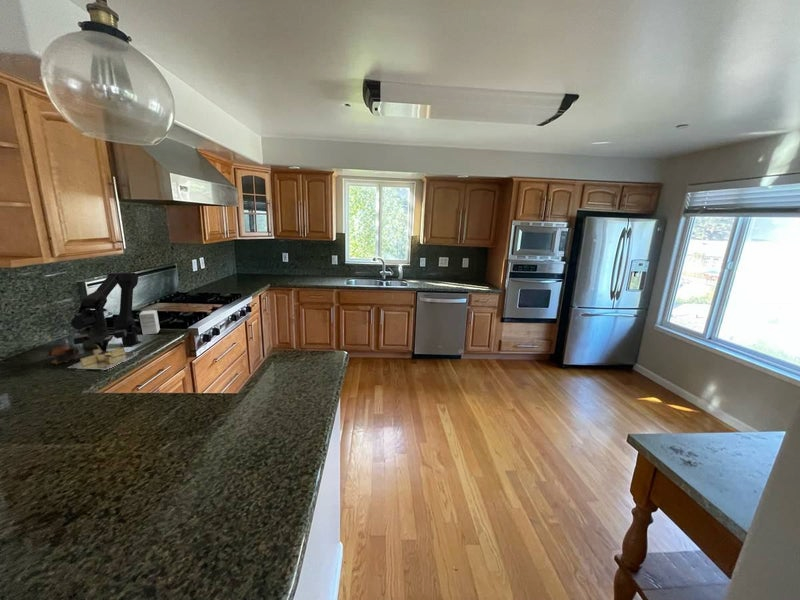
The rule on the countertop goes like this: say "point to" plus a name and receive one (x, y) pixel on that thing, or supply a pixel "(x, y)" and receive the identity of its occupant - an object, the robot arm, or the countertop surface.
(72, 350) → the brown clawed figurine
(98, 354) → the brass cross latch
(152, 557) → the countertop surface
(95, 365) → the flange plate
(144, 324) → the supplement box
